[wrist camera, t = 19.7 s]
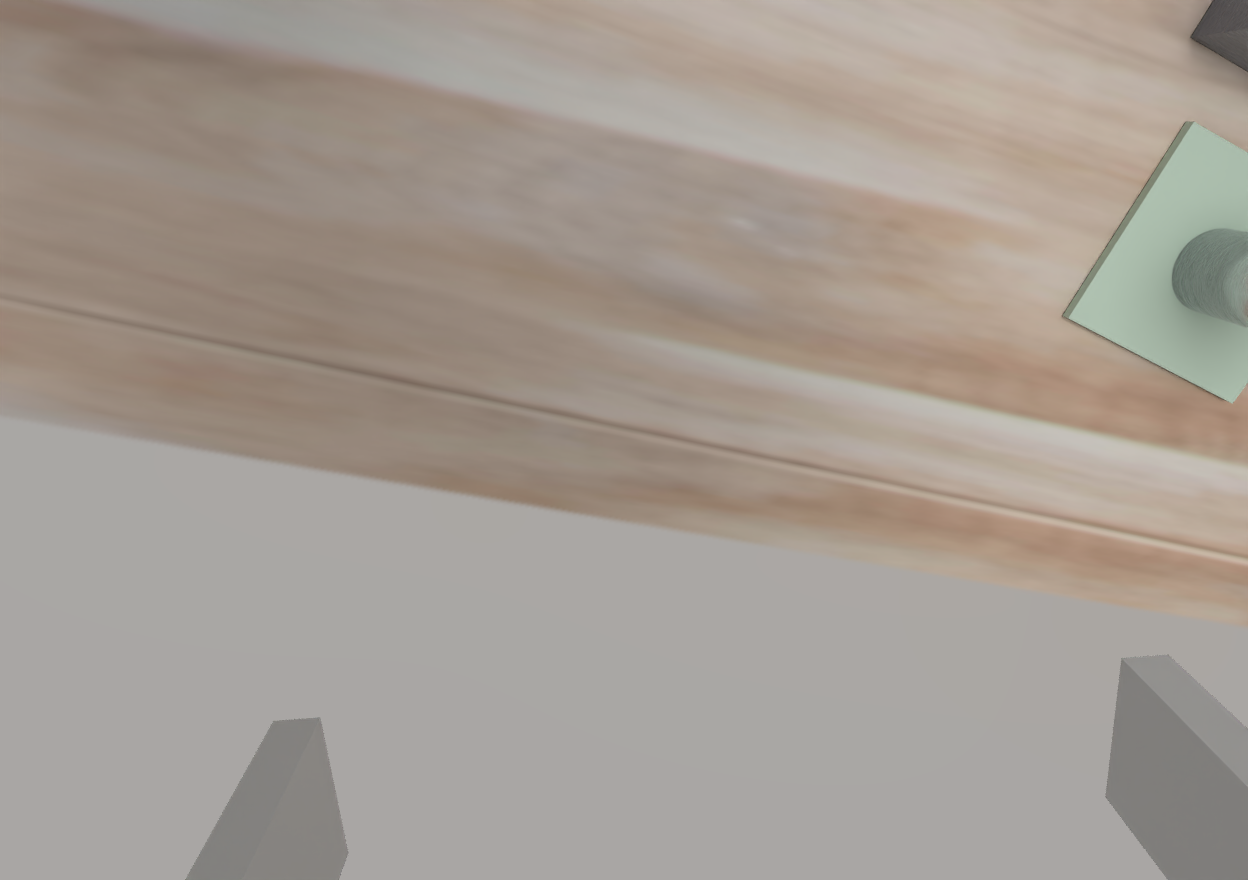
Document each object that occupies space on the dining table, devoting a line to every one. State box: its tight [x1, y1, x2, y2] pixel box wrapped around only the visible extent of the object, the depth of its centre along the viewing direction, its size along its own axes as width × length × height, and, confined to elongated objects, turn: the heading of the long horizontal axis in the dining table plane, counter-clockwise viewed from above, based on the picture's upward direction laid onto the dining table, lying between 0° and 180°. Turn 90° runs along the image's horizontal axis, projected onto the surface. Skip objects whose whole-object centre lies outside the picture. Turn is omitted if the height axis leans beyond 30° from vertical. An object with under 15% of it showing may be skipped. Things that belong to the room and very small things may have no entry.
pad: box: [1063, 122, 1248, 404], centre depth 45 cm, size 10×10×1 cm
